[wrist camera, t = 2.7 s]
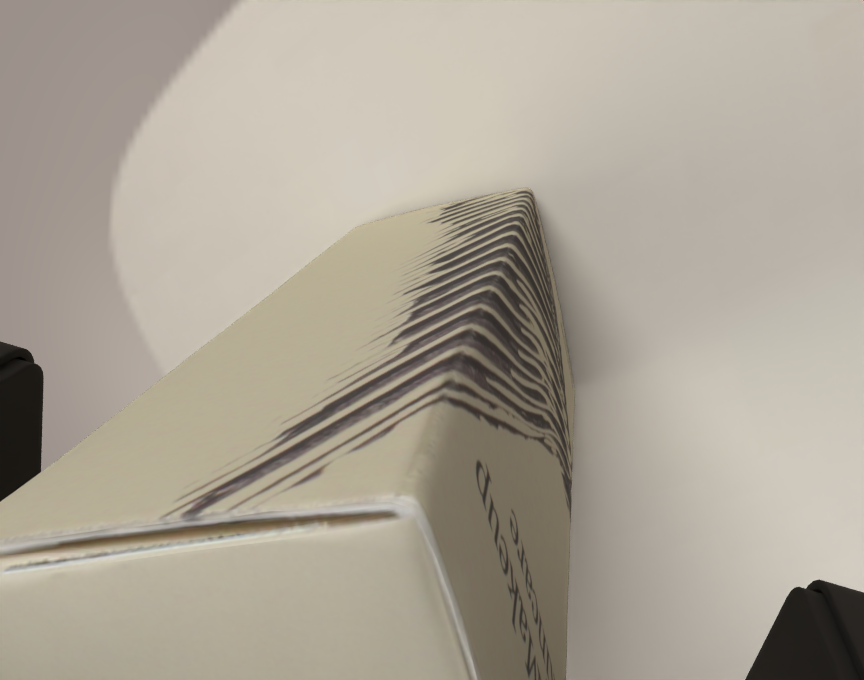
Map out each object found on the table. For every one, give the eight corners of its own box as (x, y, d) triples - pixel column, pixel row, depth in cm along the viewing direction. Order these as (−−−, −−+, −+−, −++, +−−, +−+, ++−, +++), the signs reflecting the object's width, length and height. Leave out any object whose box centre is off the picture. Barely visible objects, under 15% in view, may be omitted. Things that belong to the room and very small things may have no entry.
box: (579, 392, 18) (590, 1042, 7) (401, 420, 19) (133, 1025, 8) (531, 168, 17) (432, 501, 5) (339, 212, 18) (-125, 575, 6)
